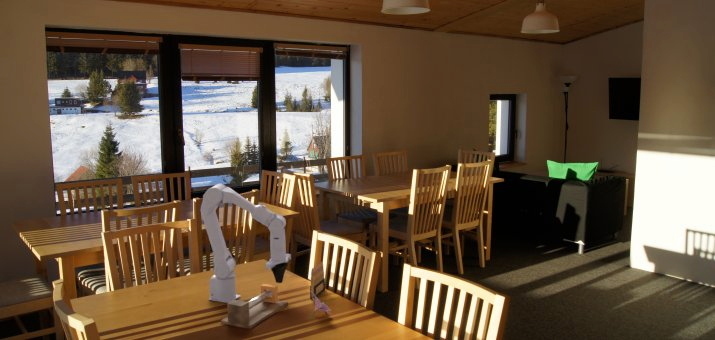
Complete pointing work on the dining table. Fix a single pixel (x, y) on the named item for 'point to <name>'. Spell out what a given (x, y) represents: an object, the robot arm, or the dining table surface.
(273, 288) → the collar
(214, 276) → the robot arm
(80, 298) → the dining table surface
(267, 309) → the pipe board
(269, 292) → the pipe
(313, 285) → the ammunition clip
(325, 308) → the lily
